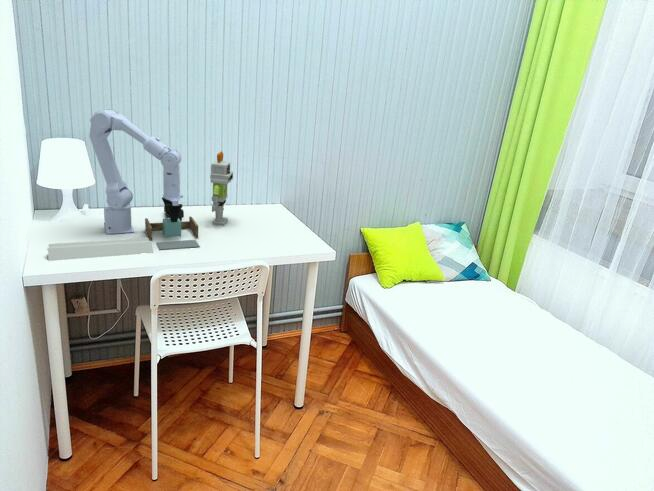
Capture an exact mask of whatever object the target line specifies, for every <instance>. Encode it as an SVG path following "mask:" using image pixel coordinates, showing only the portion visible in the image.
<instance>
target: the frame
mask: <svg viewBox="0 0 654 491" xmlns="http://www.w3.org/2000/svg"><path fill="white" fill-rule="evenodd" d="M188 218H189V219H188V220H189V221H186V220H185V221H182V222H181V231H182V230H190V231H191V233H192V235H193V236H194V237H195V239H199V225H198V223H197V222H196V221H195V219H194V218H193V217H192V216H188ZM144 225H145V226H144V227H145V228H144V231H145V233H146V236H147V238H149V241H152V242H153V232H159V231H160V232H163V222H150V221H149V219H148V218H147V217H145V218H144Z"/></svg>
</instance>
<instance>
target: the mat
mask: <svg viewBox="0 0 654 491" xmlns="http://www.w3.org/2000/svg"><path fill="white" fill-rule="evenodd" d="M155 244H156V246H157V248H158V250H159V251H165V250H166V251H167V250H180V249H195V248H201V245H199V243H198V241H197V240H196V239H187V240H171V241H158V242H157V241H156V242H155Z"/></svg>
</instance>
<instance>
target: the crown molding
mask: <svg viewBox="0 0 654 491" xmlns="http://www.w3.org/2000/svg"><path fill="white" fill-rule="evenodd" d="M153 248H154V247H153V241H150V240H149V237H142V238H141V237H140V238H125V239H107V240H93V241H75V242H62V243H60V242H59V243H48V247H47V256H48V257H47V258H48V261H49V262H53V261H63V260H64V261H65V260H67V261H68V260H77V259H78V260H79V259H91V258H93V259H94V258H105V257H119V256H130V255H133V256H134V255H142V254H141V253H147V254H154V249H153Z"/></svg>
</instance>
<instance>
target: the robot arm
mask: <svg viewBox="0 0 654 491" xmlns="http://www.w3.org/2000/svg"><path fill="white" fill-rule="evenodd" d="M89 121H90V129H89V135H88V136H89V139H90V142H91V145H92V147H93V150H94V153H95V156H96V158H97V161H98V164H99V167H100V169H101V172H102V175H103V177H104V181H105V182H106V188H105V193H106V203H107V205H108V207H105V208H103V215H104V223H103V227H104V229H105V234H106V235H110V234H111V235H112V234H113V235H114V234H127V233H134V232H135V231H134V227H133V225H132V205H131V202H132V201H133V198H134V195H133V192H132V191H131V190H130V188H129V187H128V185H127V183H126V182H125V181H124V180H123V179H122V176H121V174H120V171H119V168H118V166H117V162H116V159H115V157H114V154H113V151H112V148H111V146H110V142H109V140H108V138H109V135H110V134H111V133H112V132H113V131H122V132H124V133H126V134H127V135H128V136H130V137H131V138H133V139H134V140H136V141H138V142H139V143H140V144H142V146H143V149H144V151H146V152H147V153H149V154H150V155H152V156H153V157H154V158H156V159H157V160H158V161H160V163H161V165H162V167H163V170H162V172H163V174H162V175H163V176H162V177H163V181H162V182H163V194H162V197H161V200H162V202H163V204H164V206H165V209H166V213H167V214H166V213H165V214H166V216H167V217H169V216H170V217H169V218H170V220H171V222H177V220H178V216H179V212H180V210H181V209H182V208H183V204H181V203H179V201H180V199H182V198H184V194H181V187H180V186H181V183H180V182H181V181H180V180H181V179H180V176H181V174H180V173H181V172H180V163H181V161H182V156H181V153H180V152H178V150H177V149H172V147H171V146H168V145H166V144H165V143H164V142H162V141H161V138H159V137H158V136H157V137H155V136H149V135H147V134H146V133H144V132H143V131H142V129H140V128H139V127H137V126H136V125H135V124H134V123H132V122H131V120H129V119H127V118H126V117H125V116H124V115H123V114H121V113H119V111H117V110H115V109H113V108H109V109H106V110H98V111H96V112H94V113H93V115H92V116H91V118H89Z"/></svg>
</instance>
